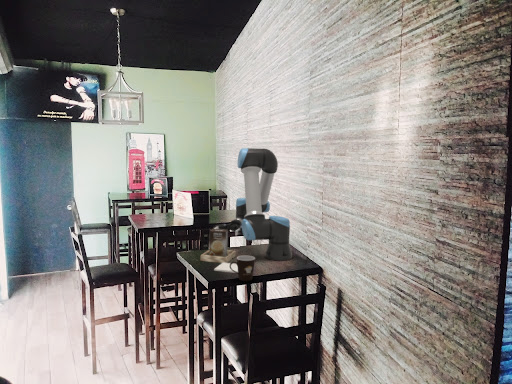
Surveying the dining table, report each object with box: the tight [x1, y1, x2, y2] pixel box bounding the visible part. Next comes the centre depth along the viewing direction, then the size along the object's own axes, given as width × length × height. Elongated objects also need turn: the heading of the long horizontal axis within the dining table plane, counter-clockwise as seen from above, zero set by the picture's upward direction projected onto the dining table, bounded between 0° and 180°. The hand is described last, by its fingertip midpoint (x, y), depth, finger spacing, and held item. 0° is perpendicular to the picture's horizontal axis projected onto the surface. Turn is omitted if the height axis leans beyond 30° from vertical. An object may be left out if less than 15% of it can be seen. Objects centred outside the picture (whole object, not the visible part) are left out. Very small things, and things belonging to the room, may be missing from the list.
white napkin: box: [213, 262, 238, 274], centre depth 195 cm, size 14×12×1 cm
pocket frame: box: [200, 249, 237, 264], centre depth 213 cm, size 15×15×3 cm
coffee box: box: [209, 228, 229, 257], centre depth 212 cm, size 9×6×16 cm
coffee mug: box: [229, 255, 256, 282], centre depth 180 cm, size 12×9×10 cm
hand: (224, 232), depth 222 cm, fingers open, 13 cm apart
